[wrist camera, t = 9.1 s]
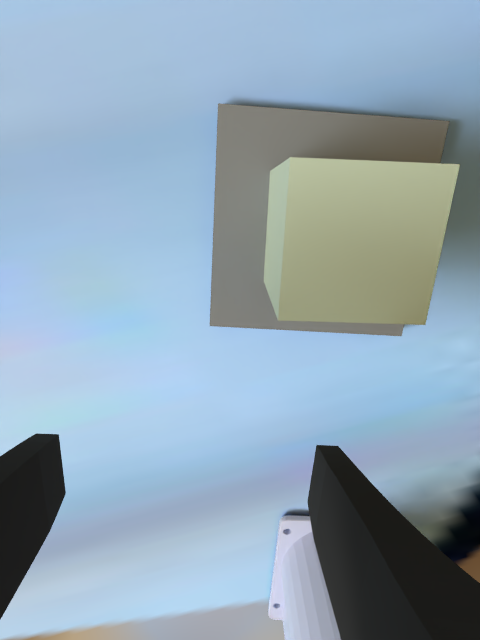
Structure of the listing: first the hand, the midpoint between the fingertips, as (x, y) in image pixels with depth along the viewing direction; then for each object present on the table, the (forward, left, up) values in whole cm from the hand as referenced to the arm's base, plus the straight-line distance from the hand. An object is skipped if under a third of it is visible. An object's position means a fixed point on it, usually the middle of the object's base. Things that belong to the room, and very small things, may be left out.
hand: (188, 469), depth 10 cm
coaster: (+6, -5, -10) cm, 13 cm away
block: (+6, -5, -9) cm, 12 cm away
